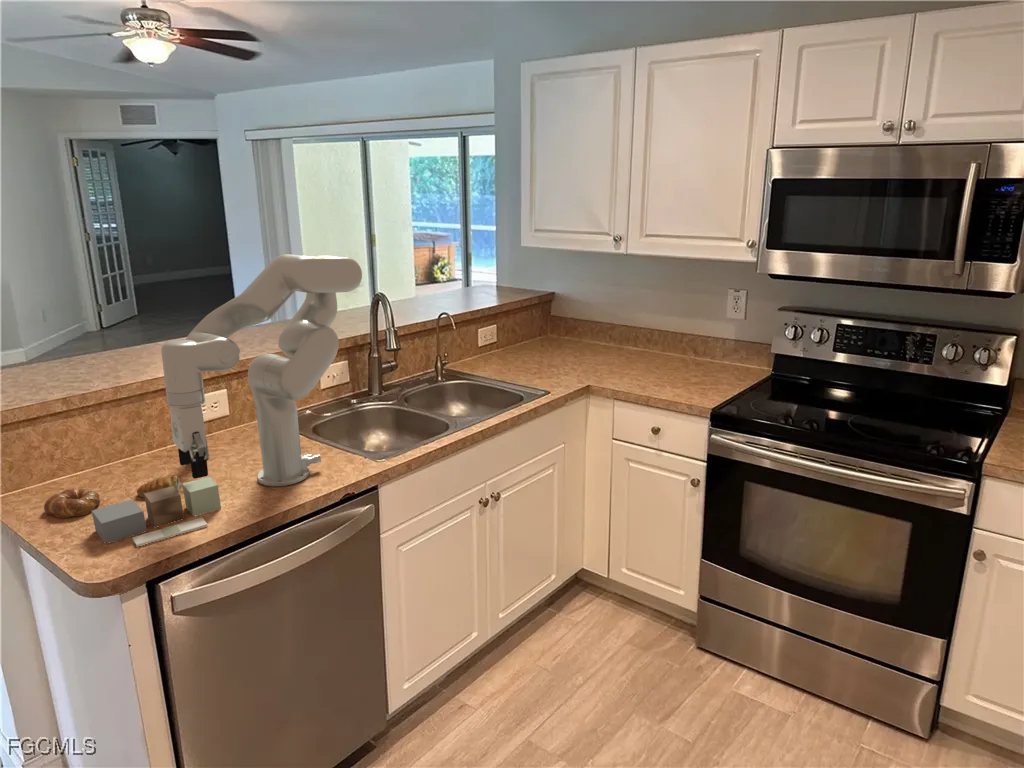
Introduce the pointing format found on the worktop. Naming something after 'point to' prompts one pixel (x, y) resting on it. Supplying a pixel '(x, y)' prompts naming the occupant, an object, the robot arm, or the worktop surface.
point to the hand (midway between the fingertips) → (193, 470)
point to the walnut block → (164, 506)
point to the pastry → (159, 485)
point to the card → (169, 531)
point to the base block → (119, 521)
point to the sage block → (201, 496)
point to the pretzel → (72, 503)
